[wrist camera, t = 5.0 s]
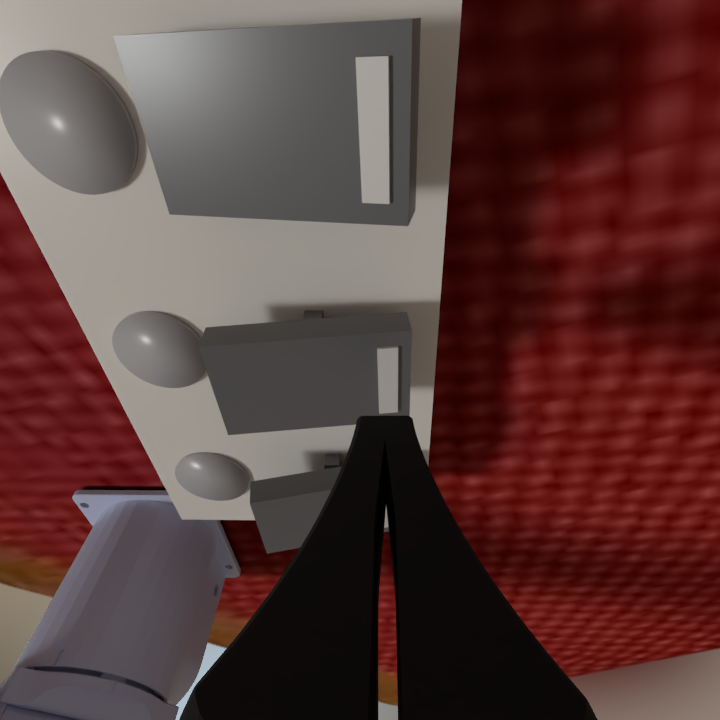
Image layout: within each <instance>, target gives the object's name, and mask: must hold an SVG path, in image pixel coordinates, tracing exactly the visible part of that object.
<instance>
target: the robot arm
mask: <svg viewBox="0 0 720 720" xmlns="http://www.w3.org/2000/svg"><path fill="white" fill-rule="evenodd" d="M72 498H73V500H74V502H75V503H76V504H77V506H78V507H79V508H80V510H81V511H82V512H83V514H84V515H85V516H86V518H87V519H88V520H89V522H90V523H91V524H92V526H93V528H92V530H91V532H90V533H89V535H88V537H87V539H86V541H85V542H84V544H83V546H82V548H81V549H80V551H79V553H78V555H77V556H76V558H75V560H74V562H73V564H72V565H71V567H70V569H69V571H68V572H67V574H66V576H65V578H64V579H63V581H62V583H61V585H60V587H59V588H58V590H57V592H56V594H55V595H54V597H53V599H52V601H51V602H50V604H49V606H48V608H47V610H46V612H45V613H44V615H43V617H42V618H41V620H40V622H39V624H38V625H37V627H36V629H35V631H34V633H33V635H32V636H31V638H30V640H29V642H28V643H27V645H26V647H25V649H24V650H23V652H22V654H21V656H20V657H19V659H18V661H17V663H16V665H15V666H14V668H13V670H12V672H11V674H10V675H9V676H8V677H7V678H6V679H5V680H4V681H3V682H2V683H1V684H0V720H175V719H176V715H177V712H178V706H175V705H176V704H177V703H178V702H179V701H180V700H181V699H182V698H183V697H184V695H185V694H186V693H187V692H188V690H189V689H190V687H191V686H192V684H193V682H194V680H195V679H196V677H197V674H198V672H199V669H200V666H201V663H202V660H203V656H204V652H205V649H206V645H207V642H208V638H209V635H210V631H211V627H212V624H213V620H214V617H215V613H216V610H217V606H218V602H219V599H220V595H221V592H222V588H223V585H224V581H225V577H227V578H235V577H238V576H239V575H240V572H241V569H240V567H239V564H238V562H237V560H236V557H235V555H234V553H233V550H232V548H231V546H230V544H229V541H228V539H227V537H226V534H225V532H224V530H223V527H222V525H221V523H220V520H182V519H181V517H180V515H179V513H178V511H177V510H176V508H175V506H174V504H173V502H172V500H171V498H170V496H169V494H168V492H167V490H77V491H76V492H75V493H74V495H73V497H72ZM386 508H387V518H388V528H389V537H390V547H391V557H392V567H393V576H394V586H395V600H396V633H397V681H398V720H597V718H596V716H595V714H594V712H593V710H592V708H591V706H590V705H589V702H588V701H587V699H586V698H585V696H584V695H583V694H582V693H581V692H580V691H579V689H578V688H577V687H576V686H575V685H574V683H573V682H572V681H571V680H570V679H569V678H568V677H567V675H566V674H565V673H564V672H563V671H562V670H561V668H560V667H559V666H558V665H557V664H556V662H555V661H554V660H553V659H552V658H551V656H550V655H549V654H548V653H547V652H546V650H545V649H544V648H543V647H542V645H541V644H540V643H539V642H538V640H537V639H536V638H535V637H534V635H533V634H532V633H531V632H530V630H529V629H528V628H527V627H526V625H525V624H524V623H523V621H522V620H521V619H520V617H519V616H518V615H517V613H516V612H515V611H514V609H513V608H512V606H511V605H510V604H509V602H508V601H507V600H506V598H505V597H504V596H503V594H502V593H501V591H500V590H499V589H498V587H497V586H496V585H495V583H494V582H493V580H492V579H491V578H490V576H489V575H488V573H487V571H486V570H485V568H484V567H483V565H482V564H481V562H480V561H479V559H478V558H477V556H476V555H475V553H474V552H473V550H472V548H471V547H470V545H469V544H468V542H467V540H466V539H465V537H464V535H463V534H462V532H461V530H460V529H459V527H458V525H457V523H456V521H455V520H454V518H453V516H452V514H451V512H450V510H449V509H448V507H447V505H446V503H445V501H444V499H443V497H442V495H441V493H440V491H439V489H438V487H437V485H436V482H435V480H434V478H433V476H432V474H431V472H430V469H429V467H428V465H427V462H426V460H425V457H424V455H423V452H422V450H421V447H420V444H419V441H418V438H417V435H416V431H415V428H414V423H413V419H412V418H411V417H410V416H360V417H359V418H358V419H357V422H356V427H355V431H354V435H353V438H352V441H351V444H350V447H349V450H348V453H347V455H346V458H345V461H344V463H343V465H342V468H341V470H340V472H339V475H338V477H337V479H336V482H335V484H334V486H333V488H332V490H331V492H330V494H329V496H328V498H327V500H326V502H325V504H324V506H323V508H322V510H321V512H320V514H319V516H318V518H317V520H316V521H315V523H314V525H313V527H312V529H311V530H310V532H309V534H308V536H307V537H306V539H305V541H304V542H303V544H302V546H301V547H300V549H299V550H298V552H297V554H296V555H295V557H294V558H293V560H292V561H291V563H290V564H289V566H288V567H287V569H286V570H285V572H284V574H283V575H282V577H281V578H280V579H279V581H278V582H277V584H276V585H275V587H274V588H273V590H272V591H271V592H270V594H269V595H268V596H267V598H266V599H265V600H264V602H263V603H262V604H261V606H260V607H259V608H258V610H257V611H256V612H255V614H254V615H253V616H252V618H251V619H250V620H249V622H248V623H247V624H246V626H245V627H244V628H243V630H242V631H241V632H240V633H239V635H238V636H237V637H236V638H235V640H234V641H233V642H232V643H231V644H230V645H229V647H228V648H227V649H226V650H225V651H224V653H223V654H222V655H221V656H220V657H219V658H218V660H217V661H216V662H215V663H214V664H213V666H212V667H211V668H210V669H209V670H208V671H207V673H206V674H205V675H204V676H203V677H202V678H201V680H200V681H199V682H198V683H197V685H196V686H195V688H194V689H193V691H192V693H191V695H190V697H189V700H188V702H187V704H186V706H185V708H184V710H183V713H182V715H181V717H180V720H378V601H379V583H380V571H381V559H382V547H383V536H384V523H385V511H386Z"/></svg>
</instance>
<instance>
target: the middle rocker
mask: <svg viewBox="0 0 720 720" xmlns="http://www.w3.org/2000/svg"><path fill="white" fill-rule="evenodd" d="M411 345H412V329H411V325H410V322H409V318H408V315H407V312H398V313H385V314H372V315H359V316H346V317H333V318H320V319H307V320H294V321H281V322H268V323H256V324H243V325H230V326H217V327H206V328H205V331H204V333H203V336H202V339H201V342H200V344H199V347H198V348H199V350H200V353H201V356H202V359H203V362H204V365H205V368H206V371H207V374H208V377H209V380H210V383H211V386H212V389H213V392H214V395H215V398H216V401H217V404H218V407H219V410H220V413H221V416H222V418H223V421H224V424H225V427H226V430H227V433H228V435H237V434H249V433H261V432H273V431H285V430H297V429H309V428H321V427H333V426H345V425H356V422H357V419H358V418H359V417H360V416H409V414H410V379H411Z"/></svg>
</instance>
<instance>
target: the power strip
mask: <svg viewBox="0 0 720 720" xmlns="http://www.w3.org/2000/svg"><path fill="white" fill-rule="evenodd" d="M461 11H462V0H0V172H1V174H2V176H3V178H4V180H5V182H6V184H7V186H8V188H9V190H10V192H11V193H12V195H13V197H14V199H15V201H16V203H17V205H18V207H19V209H20V211H21V213H22V215H23V216H24V218H25V220H26V222H27V224H28V226H29V228H30V230H31V232H32V234H33V236H34V238H35V239H36V241H37V243H38V245H39V247H40V249H41V251H42V253H43V255H44V257H45V259H46V261H47V262H48V264H49V266H50V268H51V270H52V272H53V274H54V276H55V278H56V280H57V282H58V283H59V285H60V287H61V289H62V291H63V293H64V295H65V297H66V299H67V301H68V303H69V305H70V306H71V308H72V310H73V312H74V314H75V316H76V318H77V320H78V322H79V324H80V326H81V328H82V329H83V331H84V333H85V335H86V337H87V339H88V341H89V343H90V345H91V347H92V349H93V351H94V352H95V354H96V356H97V358H98V360H99V362H100V364H101V366H102V368H103V370H104V372H105V374H106V375H107V377H108V379H109V381H110V383H111V385H112V387H113V389H114V391H115V393H116V395H117V397H118V398H119V400H120V402H121V404H122V406H123V408H124V410H125V412H126V414H127V416H128V418H129V420H130V421H131V423H132V425H133V427H134V429H135V431H136V433H137V435H138V437H139V439H140V441H141V442H142V444H143V446H144V448H145V450H146V452H147V454H148V456H149V458H150V460H151V462H152V464H153V465H154V467H155V469H156V471H157V473H158V475H159V477H160V479H161V481H162V483H163V485H164V487H165V488H166V490H167V492H168V494H169V496H170V498H171V500H172V502H173V504H174V506H175V508H176V510H177V511H178V513H179V515H180V517H181V519H182V520H255V517H254V515H253V512H252V509H251V506H250V482H251V481H257V480H263V479H269V478H275V477H281V476H287V475H293V474H299V473H305V472H311V471H317V470H323V469H329V468H335V467H341V466H342V465H343V463H344V461H345V458H346V455H347V453H348V450H349V447H350V444H351V441H352V438H353V435H354V431H355V427H356V425H345V426H333V427H321V428H309V429H297V430H285V431H273V432H261V433H249V434H237V435H228V433H227V430H226V427H225V424H224V421H223V418H222V416H221V413H220V410H219V407H218V404H217V401H216V398H215V395H214V392H213V389H212V386H211V383H210V380H209V377H208V374H207V371H206V368H205V365H204V362H203V359H202V356H201V353H200V350H199V348H198V347H199V344H200V342H201V339H202V336H203V333H204V331H205V328H206V327H217V326H230V325H243V324H256V323H268V322H281V321H294V320H307V319H320V318H333V317H346V316H359V315H372V314H385V313H398V312H407V315H408V318H409V322H410V325H411V329H412V345H411V379H410V414H409V416H410V417H411V418H412V419H413V423H414V428H415V431H416V435H417V438H418V441H419V444H420V447H421V450H422V452H423V455H424V457H425V460H426V462H427V465H428V463H429V449H430V436H431V422H432V408H433V394H434V381H435V367H436V353H437V340H438V326H439V312H440V299H441V285H442V271H443V257H444V244H445V230H446V216H447V203H448V189H449V175H450V161H451V148H452V134H453V120H454V107H455V93H456V79H457V66H458V52H459V38H460V24H461ZM406 18H421V33H420V68H419V102H418V137H417V172H416V206H415V212H414V215H413V217H412V219H411V221H410V224H409V226H393V225H372V224H352V223H332V222H311V221H291V220H271V219H250V218H230V217H210V216H189V215H170V214H169V211H168V208H167V205H166V202H165V198H164V195H163V192H162V189H161V186H160V183H159V179H158V176H157V173H156V170H155V167H154V164H153V160H152V157H151V154H150V151H149V148H148V145H147V141H146V138H145V135H144V132H143V129H142V126H141V122H140V119H139V116H138V113H137V110H136V107H135V103H134V100H133V97H132V94H131V91H130V88H129V84H128V81H127V78H126V75H125V72H124V69H123V65H122V62H121V59H120V56H119V53H118V50H117V46H116V43H115V40H114V37H113V36H118V35H131V34H144V33H161V32H179V31H196V30H213V29H231V28H248V27H266V26H283V25H301V24H318V23H336V22H353V21H371V20H388V19H406Z"/></svg>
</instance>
